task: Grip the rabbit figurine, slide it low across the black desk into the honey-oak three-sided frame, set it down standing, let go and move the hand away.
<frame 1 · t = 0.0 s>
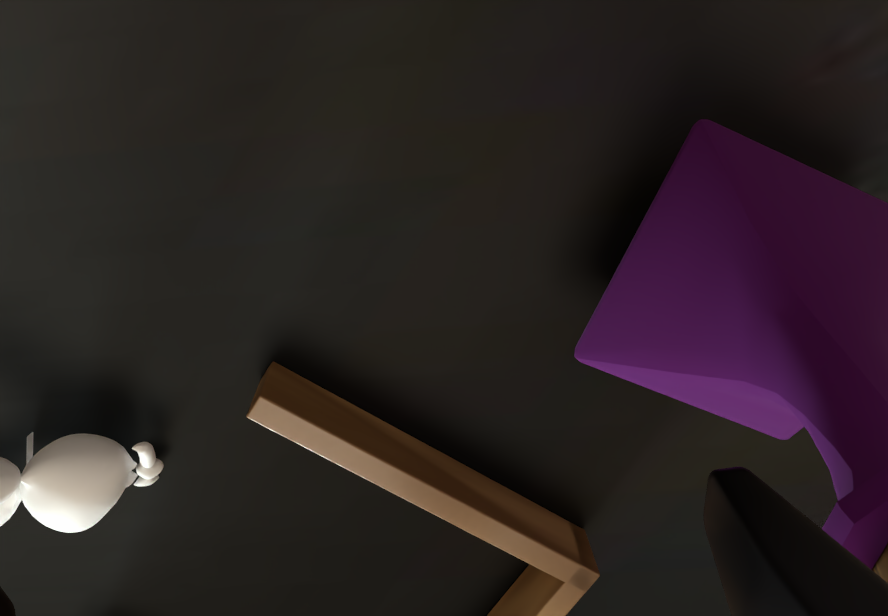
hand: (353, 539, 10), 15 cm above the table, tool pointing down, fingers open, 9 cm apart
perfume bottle: (703, 256, 25), on the table
frame: (336, 587, 29), on the table
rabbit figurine: (45, 445, 26), on the table
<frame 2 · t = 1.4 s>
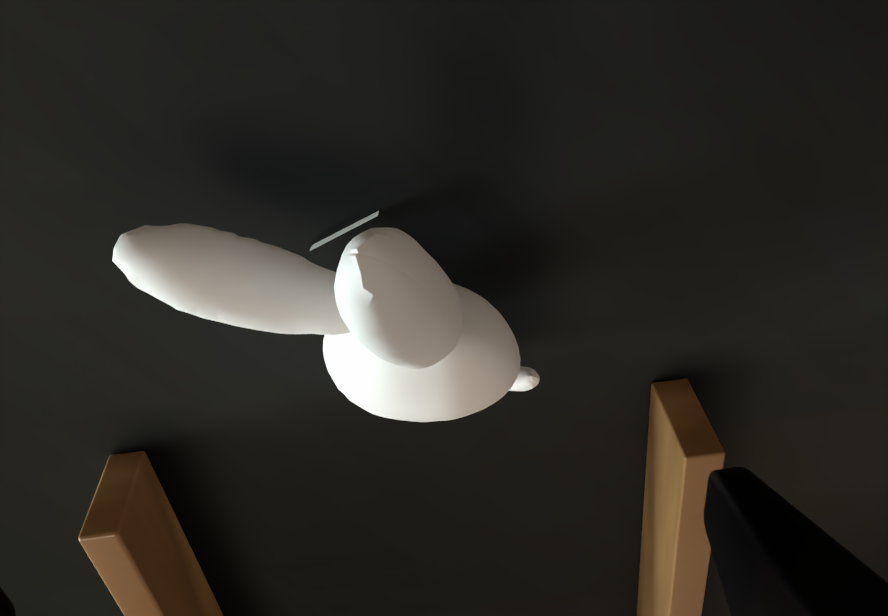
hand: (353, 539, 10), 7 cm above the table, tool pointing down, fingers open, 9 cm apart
frame: (430, 578, 22), on the table
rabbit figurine: (362, 230, 16), on the table
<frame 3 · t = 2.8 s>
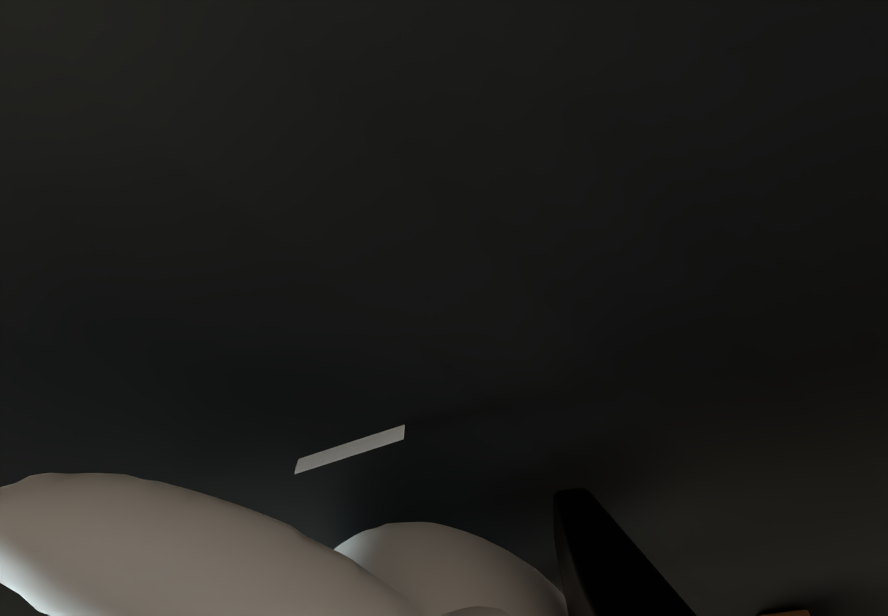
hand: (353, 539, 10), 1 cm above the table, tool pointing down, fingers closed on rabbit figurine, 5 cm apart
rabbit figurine: (373, 442, 11), on the table, touching gripper
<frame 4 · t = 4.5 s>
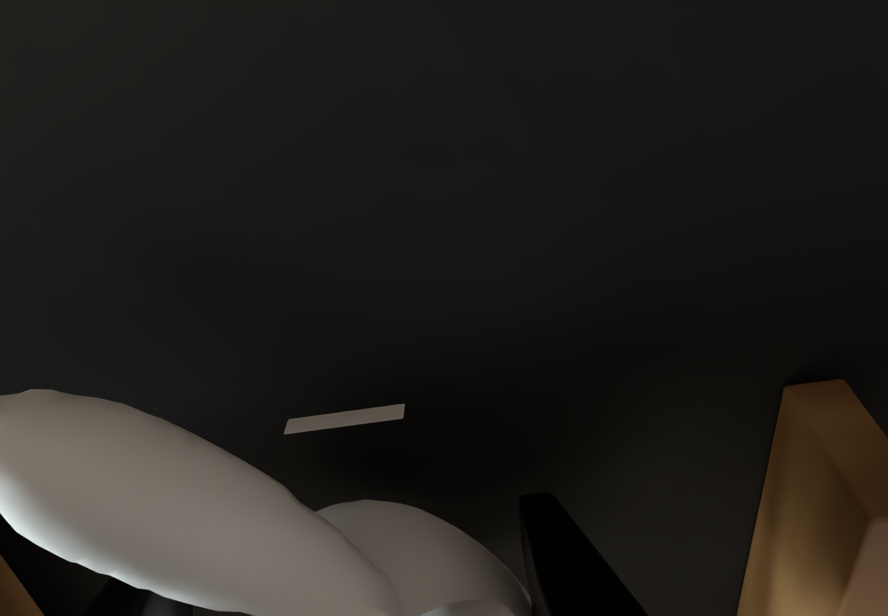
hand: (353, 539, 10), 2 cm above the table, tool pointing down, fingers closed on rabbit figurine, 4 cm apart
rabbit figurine: (366, 416, 10), on the table, touching gripper
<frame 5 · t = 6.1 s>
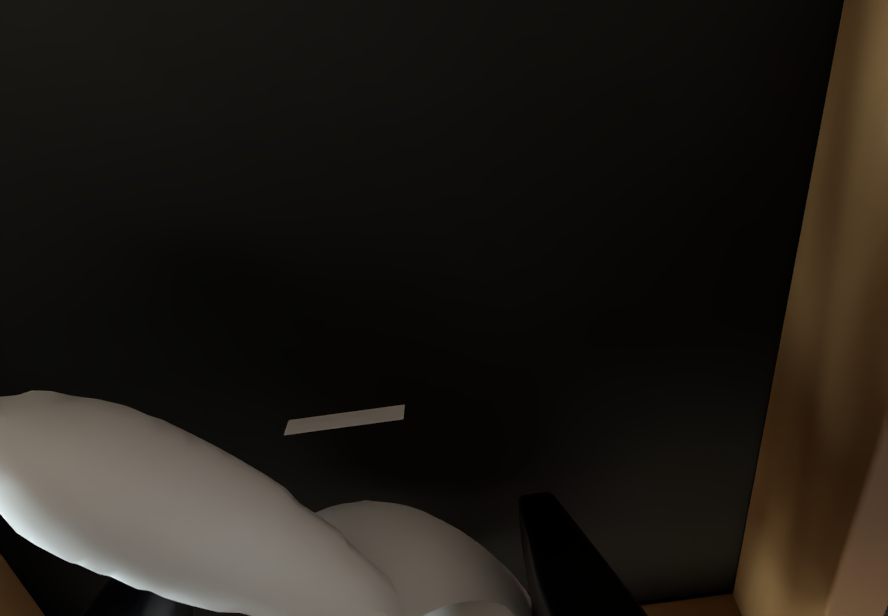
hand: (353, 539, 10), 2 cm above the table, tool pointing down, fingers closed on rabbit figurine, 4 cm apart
frame: (359, 419, 11), on the table
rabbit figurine: (366, 416, 10), point 1 cm above the table, touching gripper
when the fingers open (1 cm above the table, at t = 7.5 s): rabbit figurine stays where it is, on the table.
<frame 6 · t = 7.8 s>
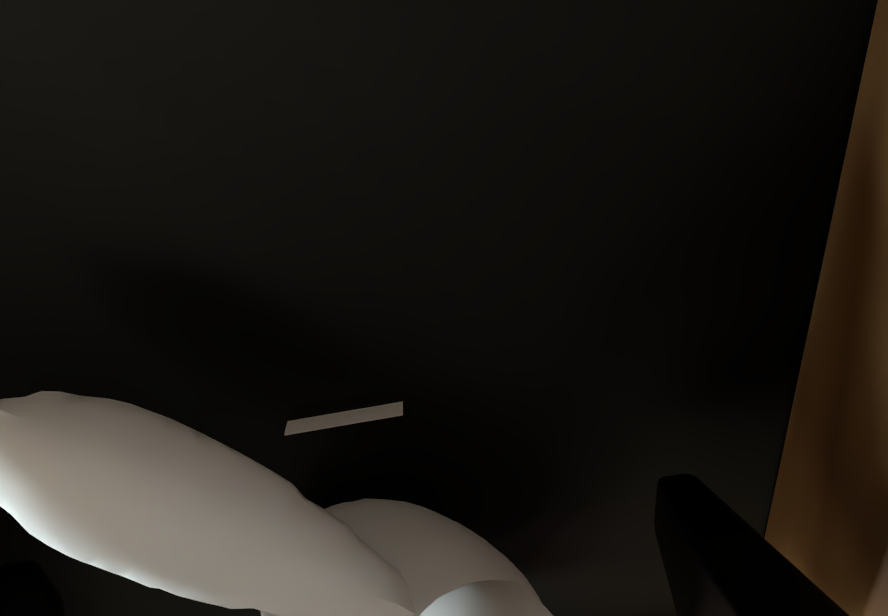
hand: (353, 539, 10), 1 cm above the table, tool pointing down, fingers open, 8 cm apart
frame: (356, 455, 11), on the table
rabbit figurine: (364, 415, 11), on the table
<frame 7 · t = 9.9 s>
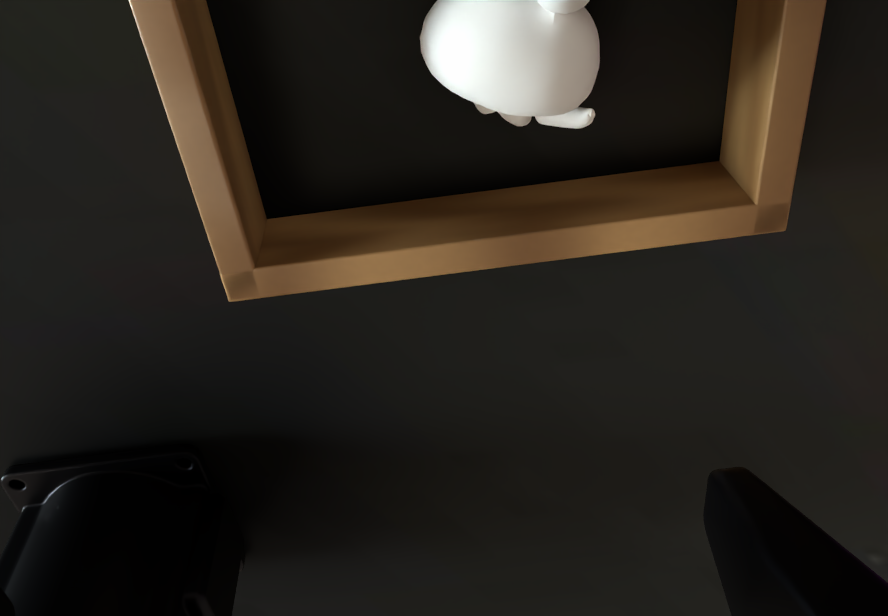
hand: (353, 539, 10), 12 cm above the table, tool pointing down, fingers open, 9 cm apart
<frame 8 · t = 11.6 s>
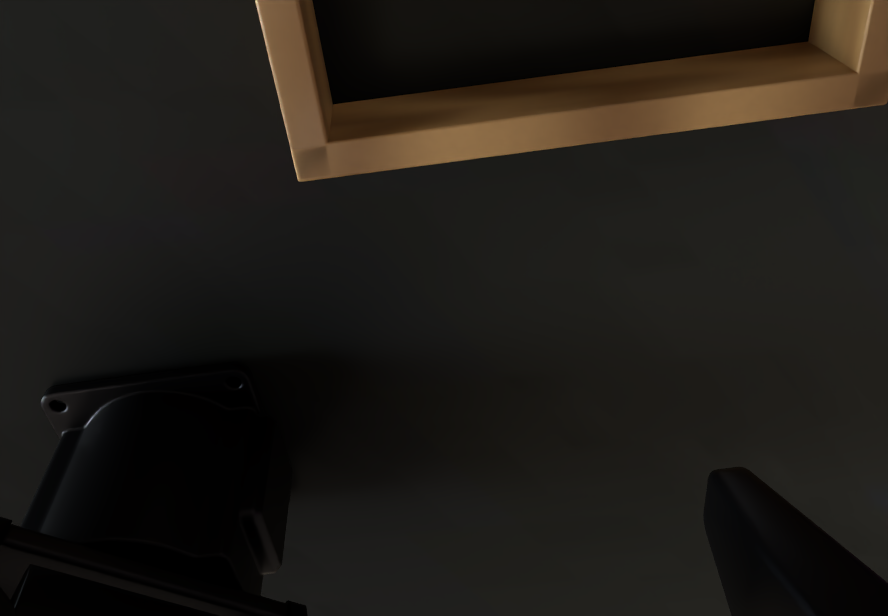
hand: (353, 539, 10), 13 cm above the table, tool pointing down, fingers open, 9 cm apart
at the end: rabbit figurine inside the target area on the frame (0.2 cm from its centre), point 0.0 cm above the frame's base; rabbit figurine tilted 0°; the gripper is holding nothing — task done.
